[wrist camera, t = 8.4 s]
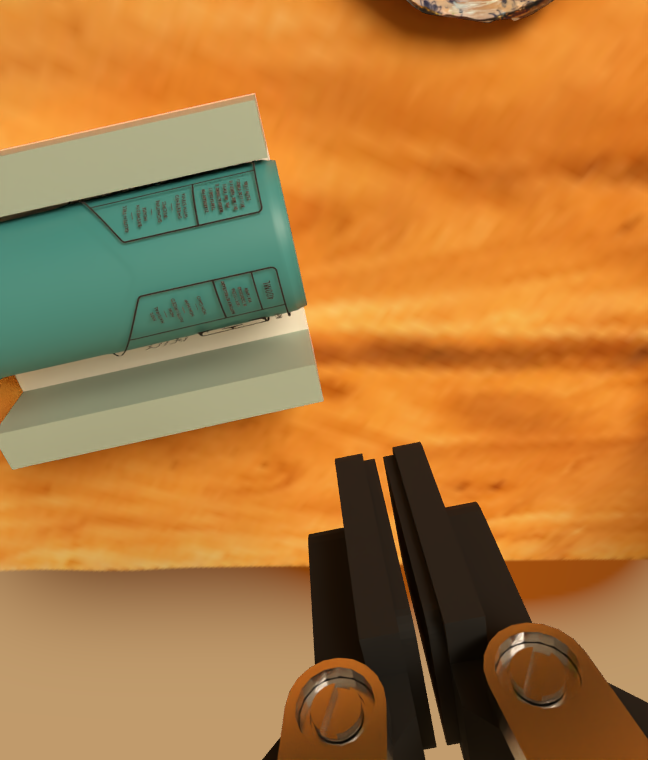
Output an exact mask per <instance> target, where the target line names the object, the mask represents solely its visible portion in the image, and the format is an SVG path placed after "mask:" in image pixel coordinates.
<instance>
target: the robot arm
mask: <svg viewBox="0 0 648 760" xmlns="http://www.w3.org/2000/svg"><path fill="white" fill-rule="evenodd" d="M383 459H384V465H385V470H386V476H387V481H388V486H389V492H390V497H391V503H392V508H393V514H394V519H395V524H396V530H397V535H398V541H399V546H400V551H401V557H402V562H403V566H404V571H405V575H406V579H407V583H408V587H409V592H410V596H411V600H412V603H413V608H414V612H415V616H416V620H417V624H418V629H419V633H420V637H421V641H422V645H423V649H424V653H425V657H426V661H427V665H428V670H429V674H430V678H431V682H432V686H433V690H434V694H435V698H436V703H437V707H438V711H439V714H440V719H441V723H442V727H443V731H444V735H445V739H446V743H447V745H452V744H458V743H460V747H461V750H462V754H463V758H464V760H648V703H647V702H645V701H643V700H641V699H639V698H637V697H635V696H633V695H631V694H629V693H627V692H625V691H623V690H621V689H619V688H617V687H616V686H613V685H612V684H610V683H608V682H607V681H606V680H605V678H604V677H603V675H602V674H601V673H600V671H599V670H598V668H597V667H596V666H595V664H594V663H593V661H592V660H591V659H590V657H589V656H588V655H587V653H586V652H585V650H584V649H583V648H582V647H581V646H580V645H579V644H578V643H577V642H576V641H575V640H574V639H573V638H571V637H570V636H568V635H567V634H565V633H564V632H562V631H561V630H559V629H556V628H553V627H550V626H547V625H545V624H537V623H532V621H531V619H530V617H529V615H528V613H527V611H526V608H525V606H524V604H523V602H522V599H521V597H520V595H519V593H518V590H517V588H516V586H515V584H514V582H513V579H512V577H511V575H510V572H509V571H508V568H507V566H506V564H505V561H504V559H503V557H502V555H501V553H500V550H499V548H498V546H497V544H496V541H495V539H494V537H493V535H492V533H491V530H490V528H489V526H488V524H487V521H486V519H485V517H484V515H483V513H482V510H481V508H480V507H479V505H478V503H477V502H472V503H467V504H462V505H456V506H451V507H446V508H445V506H444V504H443V501H442V498H441V496H440V493H439V490H438V487H437V485H436V482H435V479H434V477H433V474H432V471H431V468H430V466H429V463H428V460H427V458H426V455H425V452H424V450H423V447H422V444H421V443H420V442H417V443H412V444H407V445H402V446H397V447H393V455H390V456H385V457H383ZM335 465H336V472H337V480H338V487H339V495H340V502H341V509H342V517H343V524H344V528H339V529H334V530H329V531H324V532H319V533H314V534H309V537H308V547H309V565H310V581H311V582H310V583H311V600H312V617H313V618H312V619H313V637H314V655H315V665H314V666H312V667H310V668H309V669H308V670H307V671H305V672H304V673H303V674H302V675H301V676H300V677H299V678H298V679H297V680H296V682H295V684H294V685H293V687H292V688H291V690H290V692H289V695H288V698H287V701H286V705H285V710H284V717H283V724H282V731H281V737H280V739H279V740H278V741H277V742H276V743H275V745H274V746H273V747H272V748H271V750H270V751H269V752H268V753H267V754H266V756H265V757H264V758H263V759H262V760H425V755H424V751H423V750H424V749H430V748H435V747H436V741H435V736H434V731H433V725H432V721H431V714H430V709H429V704H428V698H427V693H426V687H425V683H424V676H423V671H422V666H421V660H420V655H419V650H418V644H417V639H416V634H415V629H414V624H413V620H412V615H411V611H410V607H409V602H408V599H407V594H406V590H405V586H404V581H403V577H402V573H401V568H400V564H399V560H398V556H397V552H396V547H395V543H394V539H393V535H392V530H391V526H390V522H389V518H388V514H387V509H386V505H385V501H384V497H383V492H382V488H381V484H380V480H379V475H378V471H377V467H376V463H375V459H370V460H365V461H363V456H362V454H357V455H352V456H347V457H342V458H337V459H335Z"/></svg>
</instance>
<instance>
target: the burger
mask: <svg viewBox="0 0 648 760" xmlns="http://www.w3.org/2000/svg"><path fill="white" fill-rule="evenodd" d="M407 1H408V2H409V3H410V4H411V5H412V6H413V7H415V8H416V9H418V10H420V11H421V12H423V13H426V14H430V15H437V16H445V17H452V18H459V19H466V20H473V21H477V22H483V23H491V22H493V21H495V20H503V19H512V20H514V21H516V20H519V19H521V18H524V17H526V16H529V15H531V14H533V13H535V12H537V11H538V10H540V9H541V8H543V7H544V6H546V5H547V4H549V3H550V2H552V1H553V0H407Z"/></svg>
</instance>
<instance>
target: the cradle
mask: <svg viewBox="0 0 648 760" xmlns="http://www.w3.org/2000/svg"><path fill="white" fill-rule="evenodd" d="M254 160H256V161H257V160H270V157H269V152H268V148H267V144H266V139H265V135H264V130H263V126H262V122H261V117H260V113H259V108H258V104H257V100H256V95H255V93H252V94H248V95H243V96H239V97H235V98H230V99H226V100H221V101H217V102H212V103H208V104H203V105H199V106H194V107H190V108H185V109H181V110H176V111H172V112H167V113H163V114H158V115H154V116H149V117H145V118H141V119H136V120H132V121H127V122H123V123H118V124H114V125H109V126H105V127H100V128H96V129H91V130H87V131H82V132H78V133H73V134H69V135H64V136H60V137H55V138H51V139H47V140H42V141H38V142H33V143H29V144H24V145H20V146H15V147H11V148H6V149H2V150H0V222H3V221H7V220H11V219H15V218H19V217H24V216H28V215H32V214H36V213H40V212H44V211H48V210H53V209H56V208H59V207H62V206H65V205H68V203H69V202H70V201H71V203H70V204H73V203H78V202H80V201H79V200H82V201H86V200H90V199H95V198H99V195H100V196H102V197H103V196H106V195H105V194H106V193H107V195H112V194H115V193H120V192H121V190H122V191H123V192H124V191H129V190H126V189H129V188H131V190H133V189H137V188H136V187H138V186H139V187H138V188H142V186H144V185H147V186H150V185H151V184H152V183H154V184H158V182H160V181H163V182H166V181H165V180H169V179H174V178H178V177H182V176H187V175H191V174H196V173H200V172H205V171H209V170H214V169H218V168H223V167H227V166H232V165H233V166H236V165H239V164H241V163H242V164H243V163H245V162H246V163H249V162H252V161H254ZM163 182H160V183H163ZM154 184H153V185H154ZM144 187H145V186H144ZM111 192H112V193H111ZM102 194H103V195H102ZM97 195H98V196H97ZM281 315H282V316H281ZM281 315H278V316H281V317H282V318H277V319H276V316H277V315H276V316H271V317H270V319H269V321H267V322H263V321H265V320H264V319H259V320H254V321H250V322H246V323H242V324H243V325H241V324H237V325H239V326H236V325H233V326H236V327H234V328H237V329H232V328H228V327H225V328H227V329H224V328H220V329H216V330H212V331H209V332H204V333H203V334H202V335H203V336H200V335H199V334H195V335H191V336H187V337H182V338H179V339H181V340H182V342H181V341H178V339H177V341H176V339H174V340H175V341H174V340H170V341H168V343H166V342H167V341H165V342H162V344H161V343H157V344H153V345H152V346H151V345H148V346H144V347H140V348H136V349H132V350H127V351H126V352H125V353H124V351H123V352H118V353H115V354H116V355H118V356H116V355H114V354H106V355H101V356H97V357H92V358H88V359H83V360H79V361H75V362H70V363H66V364H61V365H57V366H52V367H48V368H43V369H39V370H35V371H30V372H26V373H21V374H17V375H15V377H16V379H17V381H18V383H19V384H20V386H21V388H22V390H23V393H22V394H21V396H20V397H19V399H18V400H17V401H16V403H15V404H14V406H13V407H12V408H11V410H10V411H9V413H8V414H7V416H6V417H5V418H4V420H3V421H2V423H1V424H0V450H1V451H2V453H3V455H4V456H5V458H6V460H7V462H8V463H9V465H10V467H11V468H12V470H13V469H18V468H22V467H27V466H31V465H36V464H41V463H45V462H50V461H54V460H59V459H63V458H68V457H72V456H77V455H81V454H86V453H90V452H95V451H100V450H104V449H109V448H113V447H118V446H122V445H127V444H131V443H136V442H140V441H145V440H149V439H154V438H159V437H163V436H168V435H172V434H177V433H181V432H186V431H190V430H195V429H199V428H204V427H208V426H213V425H217V424H222V423H227V422H231V421H236V420H240V419H245V418H249V417H254V416H258V415H263V414H267V413H272V412H276V411H281V410H286V409H290V408H295V407H299V406H304V405H308V404H313V403H317V402H322V401H323V396H322V391H321V385H320V380H319V375H318V370H317V365H316V360H315V355H314V350H313V346H312V341H311V337H310V333H309V328H308V324H307V319H306V315H305V311H304V307H302V308H300V309H299V310H296V311H293V312H291V316H288V314H287V313H284V314H281ZM278 316H277V317H278ZM259 322H262V323H259ZM255 323H258V324H255ZM251 324H254V325H251ZM247 325H249V326H247ZM242 326H245V327H242ZM229 327H232V326H229ZM238 327H241V328H238ZM230 329H232V330H230ZM225 330H228V331H225ZM221 331H224V332H221ZM217 332H220V333H217ZM213 333H215V334H213ZM209 334H211V335H209ZM204 335H207V336H204ZM185 338H186V340H185ZM184 340H185V341H184ZM165 343H166V344H165ZM170 343H171V344H170ZM173 343H174V344H173ZM159 344H160V346H159V347H157V346H158V345H159ZM161 345H162V346H161ZM163 345H165V346H163ZM149 346H150V347H153V348H150V347H149ZM154 347H155V348H154ZM156 347H157V348H156ZM149 348H150V349H149ZM146 349H148V350H146ZM123 353H124V355H122V354H123ZM121 355H122V356H121Z"/></svg>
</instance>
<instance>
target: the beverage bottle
mask: <svg viewBox="0 0 648 760" xmlns="http://www.w3.org/2000/svg"><path fill="white" fill-rule="evenodd" d="M165 181H166V182H163V181H160V182H163V183H160V182H158V184H154V183H152V184H151V185H150V186H147V185H144V186H145V187H144V186H142V188H138V187H139V186H138V187H136V188H137V189H133V190H131V188H129V189H126V190H129V191H124V192H123V191H122V190H121V192H120V193H115V194H112V195H107V193H106V194H105V195H106V196H103V197H102V196H100V195H99V198H95V199H90V200H86V201H82V200H79V201H80V202H78V203H73V204H70V203H71V201H70V202H69V203H68V205H65V206H62V207H59V208H56V209H53V210H48V211H44V212H40V213H36V214H32V215H28V216H24V217H19V218H15V219H11V220H7V221H3V222H0V379H2V378H4V377H8V376H12V375H17V374H21V373H26V372H30V371H35V370H39V369H43V368H48V367H52V366H57V365H61V364H66V363H70V362H75V361H79V360H83V359H88V358H92V357H97V356H101V355H106V354H114V355H116V354H115V353H118V352H123V351H124V353H125V352H126V351H127V350H132V349H136V348H140V347H144V346H148V345H151V346H152V345H153V344H157V343H161V344H162V342H165V341H167V342H166V343H168V341H170V340H174V339H176V341H177V339H178V341H181V342H182V340H181V339H179V338H182V337H187V336H191V335H195V334H199V335H200V336H203V335H202V334H203V333H204V332H209V331H212V330H216V329H220V328H224V329H227V328H225V327H228V328H232V329H237V328H234V327H236V326H239V325H237V324H241V325H243V324H242V323H246V322H250V321H254V320H259V319H264V320H265V321H263V322H267V321H269V319H270V317H271V316H276V315H277V316H278V315H281V314H284V313H287V314H288V316H291V312H293V311H296V310H299V309H300V308H302V307H304V306H306V305H307V301H306V297H305V292H304V288H303V283H302V278H301V274H300V269H299V264H298V260H297V255H296V251H295V246H294V242H293V237H292V232H291V228H290V223H289V219H288V214H287V210H286V206H285V201H284V197H283V192H282V188H281V183H280V179H279V175H278V170H277V166H276V162H275V160H257V161H256V160H254V161H252V162H249V163H246V162H245V163H243V164H242V163H241V164H239V165H236V166H233V165H232V166H227V167H223V168H218V169H214V170H209V171H205V172H200V173H196V174H191V175H187V176H182V177H178V178H174V179H169V180H165ZM153 184H154V185H153ZM111 193H112V192H111ZM102 195H103V194H102ZM97 196H98V195H97ZM277 316H276V319H277V318H282V317H281V316H282V315H281V316H278V317H277ZM259 323H262V322H259ZM255 324H258V323H255ZM233 325H236V326H233ZM251 325H254V324H251ZM229 326H232V327H229ZM247 326H249V325H247ZM242 327H245V326H242ZM238 328H241V327H238ZM232 329H230V330H232ZM225 331H228V330H225ZM221 332H224V331H221ZM217 333H220V332H217ZM213 334H215V333H213ZM209 335H211V334H209ZM204 336H207V335H204ZM185 340H186V338H185ZM185 340H184V341H185ZM174 341H175V340H174ZM166 343H165V344H166ZM170 344H171V343H170ZM173 344H174V343H173ZM159 346H160V344H159V345H158V346H157V347H159ZM161 346H162V345H161ZM163 346H165V345H163ZM149 347H150V346H149ZM157 347H156V348H157ZM150 348H153V347H150ZM150 348H149V349H150ZM154 348H155V347H154ZM146 350H148V349H146ZM124 353H123V354H122V355H124ZM122 355H121V356H122ZM116 356H118V355H116Z"/></svg>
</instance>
